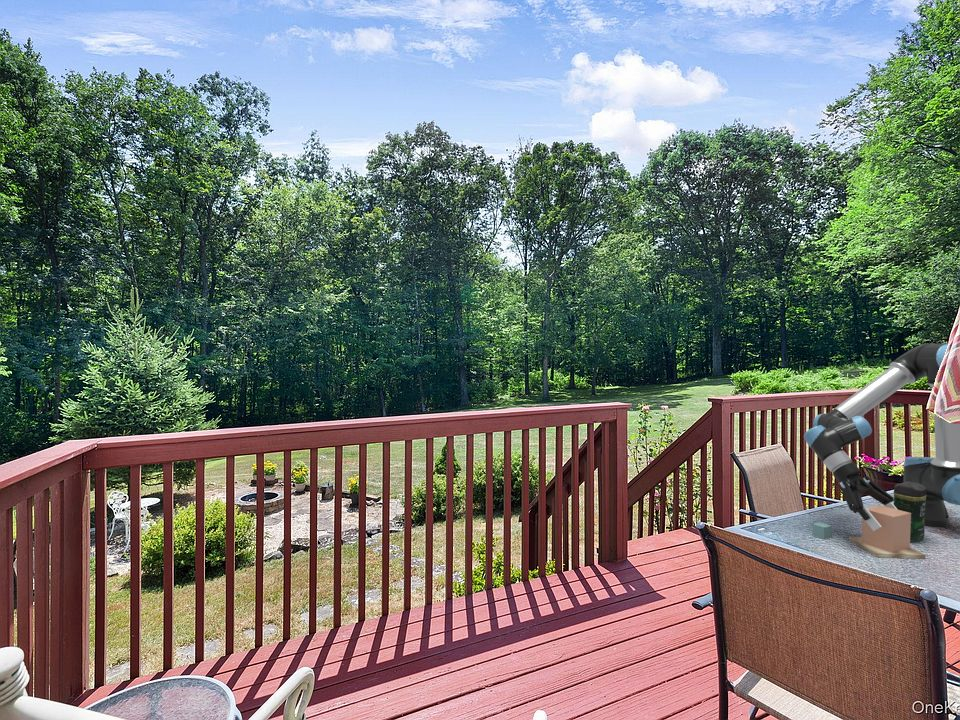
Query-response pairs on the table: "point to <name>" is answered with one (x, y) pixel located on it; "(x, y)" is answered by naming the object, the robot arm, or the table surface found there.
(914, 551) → the pad
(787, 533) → the table surface
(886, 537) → the cover
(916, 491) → the coffee jar
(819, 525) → the block
